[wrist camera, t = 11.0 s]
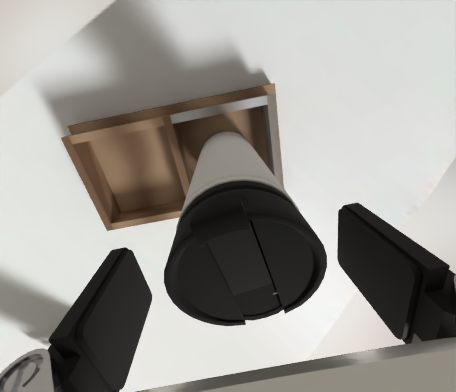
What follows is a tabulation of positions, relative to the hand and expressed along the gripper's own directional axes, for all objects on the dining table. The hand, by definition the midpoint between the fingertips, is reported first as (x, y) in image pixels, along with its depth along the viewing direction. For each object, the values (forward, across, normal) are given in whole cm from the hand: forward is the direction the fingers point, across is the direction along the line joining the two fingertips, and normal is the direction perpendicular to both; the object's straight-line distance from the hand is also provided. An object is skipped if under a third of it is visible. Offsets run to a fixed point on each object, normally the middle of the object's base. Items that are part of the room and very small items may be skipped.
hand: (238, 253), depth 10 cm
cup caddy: (+19, +5, -1) cm, 20 cm away
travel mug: (+18, 0, 0) cm, 18 cm away
